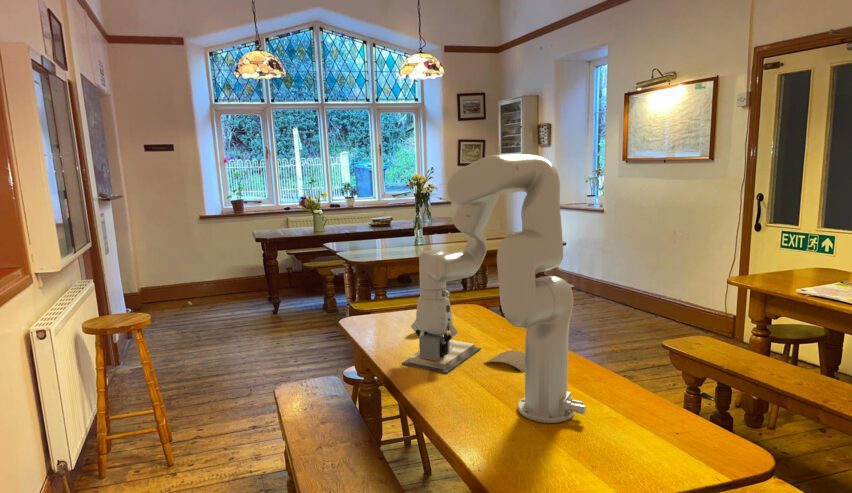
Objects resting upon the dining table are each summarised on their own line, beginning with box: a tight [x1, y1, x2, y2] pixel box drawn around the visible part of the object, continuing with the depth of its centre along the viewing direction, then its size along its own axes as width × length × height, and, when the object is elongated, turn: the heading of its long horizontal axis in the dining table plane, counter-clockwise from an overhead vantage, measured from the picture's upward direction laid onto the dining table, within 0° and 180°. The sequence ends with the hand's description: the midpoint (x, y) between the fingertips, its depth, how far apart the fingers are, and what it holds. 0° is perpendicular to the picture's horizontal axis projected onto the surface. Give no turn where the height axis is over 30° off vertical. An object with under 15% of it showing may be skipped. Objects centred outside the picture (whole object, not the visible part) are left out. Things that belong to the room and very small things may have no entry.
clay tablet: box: [484, 350, 525, 373], centre depth 149 cm, size 14×10×3 cm
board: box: [401, 339, 482, 375], centre depth 155 cm, size 22×15×2 cm
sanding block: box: [418, 331, 450, 361], centre depth 150 cm, size 8×6×6 cm
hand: (434, 353), depth 150 cm, fingers closed on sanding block, 5 cm apart
